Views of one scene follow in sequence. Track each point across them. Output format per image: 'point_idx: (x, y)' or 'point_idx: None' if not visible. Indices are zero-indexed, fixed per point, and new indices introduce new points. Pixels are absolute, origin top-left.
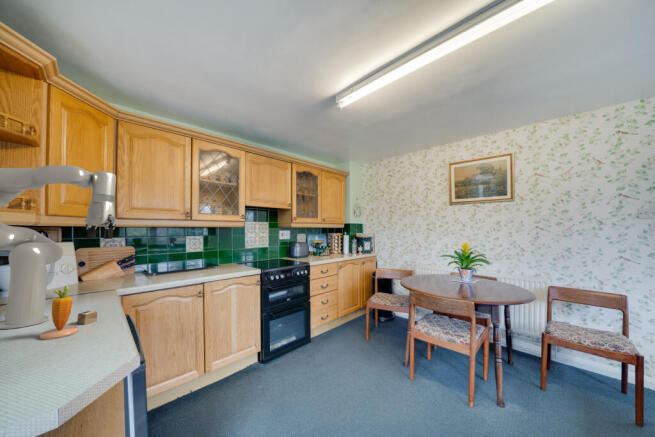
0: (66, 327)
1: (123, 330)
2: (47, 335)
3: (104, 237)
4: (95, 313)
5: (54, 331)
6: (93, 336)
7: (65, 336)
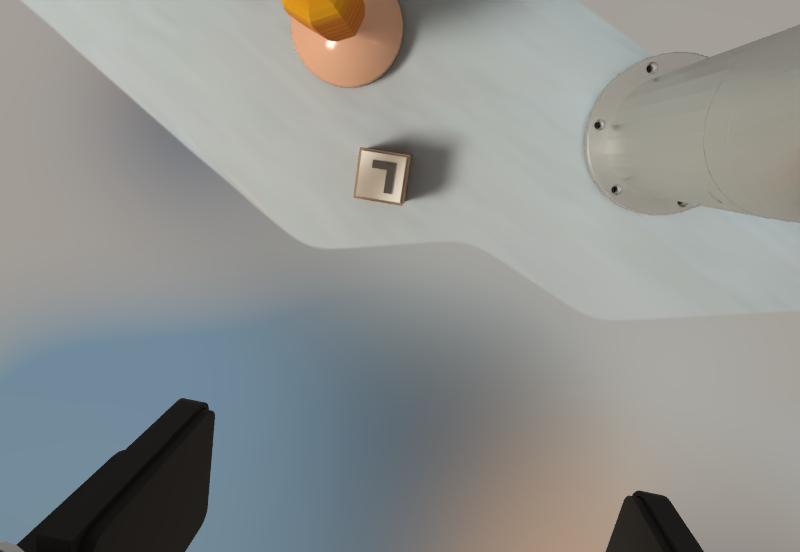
0: (362, 66)
1: (142, 101)
2: None
3: (174, 407)
4: (356, 189)
5: None
6: (191, 25)
7: None
